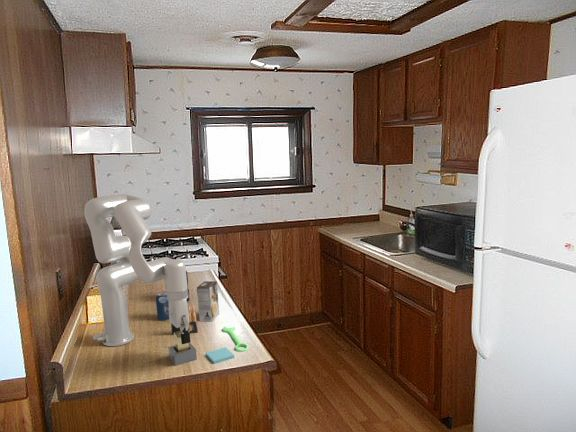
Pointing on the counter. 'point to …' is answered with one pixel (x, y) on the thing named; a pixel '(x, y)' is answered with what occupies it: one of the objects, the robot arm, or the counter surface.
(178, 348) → the brass peg
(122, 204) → the robot arm
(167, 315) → the soda can
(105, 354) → the counter surface
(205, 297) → the coffee box
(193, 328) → the ammunition clip
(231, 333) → the wrench
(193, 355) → the socket block
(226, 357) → the teal board
